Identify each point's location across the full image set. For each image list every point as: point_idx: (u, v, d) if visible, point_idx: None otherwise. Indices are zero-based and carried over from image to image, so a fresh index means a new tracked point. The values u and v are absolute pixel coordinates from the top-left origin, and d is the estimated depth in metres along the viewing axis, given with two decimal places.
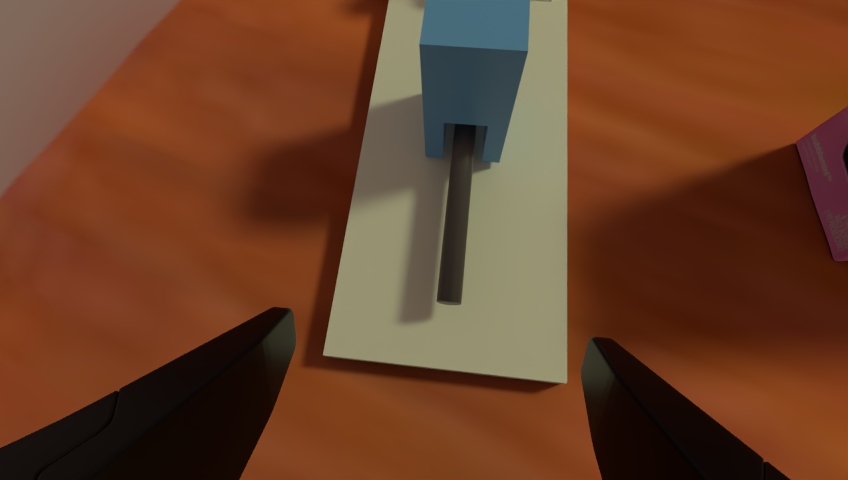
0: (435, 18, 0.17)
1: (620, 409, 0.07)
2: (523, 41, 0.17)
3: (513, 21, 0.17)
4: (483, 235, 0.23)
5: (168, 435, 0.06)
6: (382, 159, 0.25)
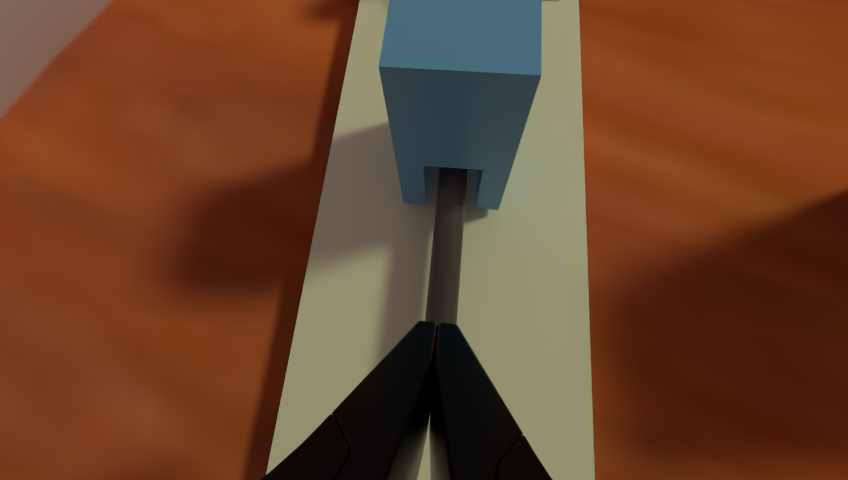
0: (402, 27, 0.12)
1: (434, 390, 0.07)
2: (533, 60, 0.11)
3: (518, 30, 0.11)
4: (479, 308, 0.18)
5: (398, 461, 0.06)
6: (348, 205, 0.20)
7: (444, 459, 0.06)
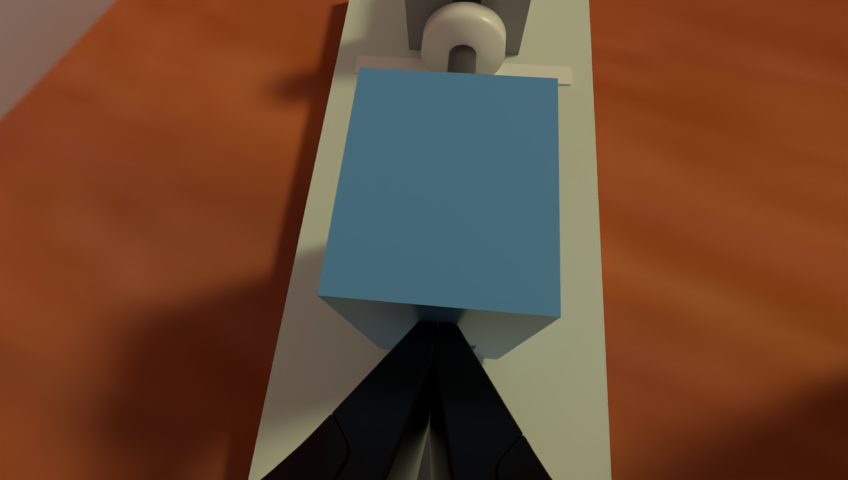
0: (355, 226, 0.08)
1: (435, 390, 0.07)
2: (549, 289, 0.07)
3: (526, 235, 0.08)
4: None
5: (398, 462, 0.06)
6: (309, 360, 0.16)
7: (444, 459, 0.06)
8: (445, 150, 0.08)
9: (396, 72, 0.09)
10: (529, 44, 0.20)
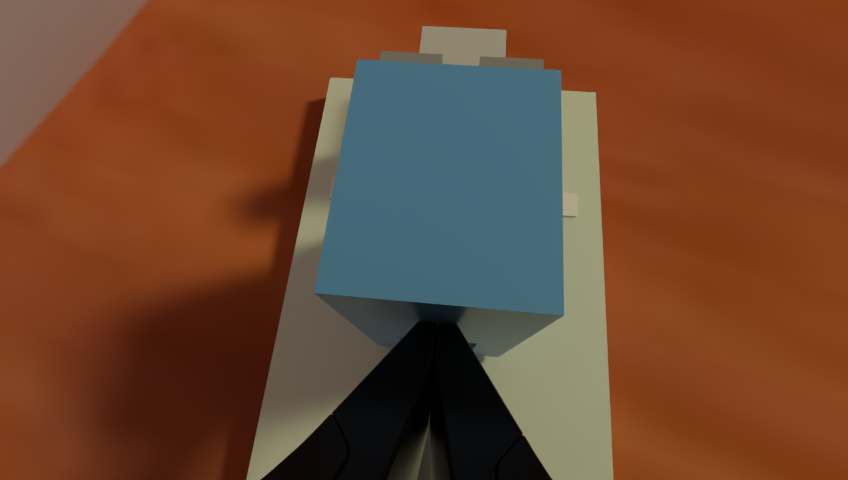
0: (353, 222, 0.08)
1: (434, 390, 0.07)
2: (552, 287, 0.07)
3: (527, 231, 0.08)
4: None
5: (398, 462, 0.06)
6: None
7: (444, 459, 0.06)
8: (445, 144, 0.08)
9: (395, 64, 0.09)
10: None
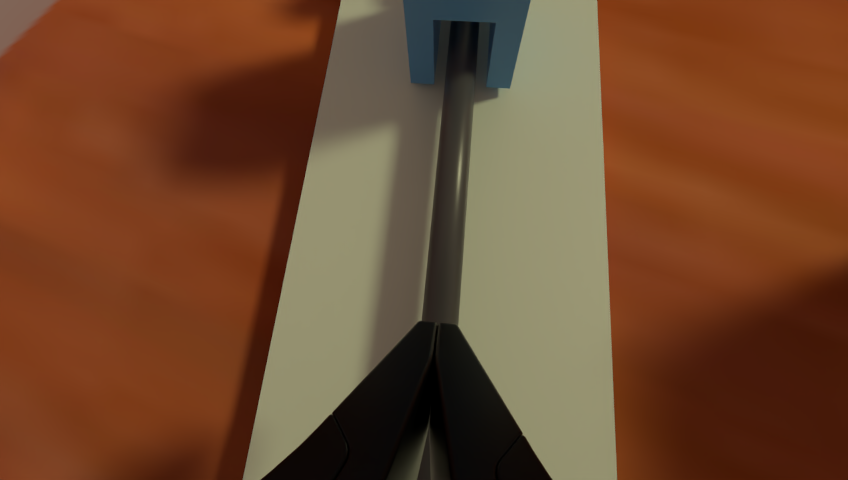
0: None
1: (434, 390, 0.07)
2: None
3: None
4: None
5: (398, 462, 0.06)
6: (325, 243, 0.17)
7: (444, 459, 0.06)
8: None
9: None
10: None
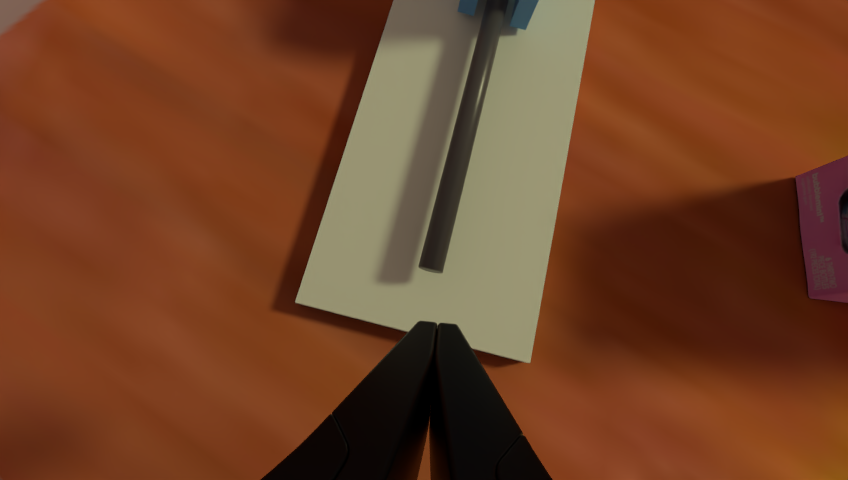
0: None
1: (435, 390, 0.07)
2: None
3: None
4: (474, 207, 0.23)
5: (398, 462, 0.06)
6: (382, 110, 0.24)
7: (444, 459, 0.06)
8: None
9: None
10: None
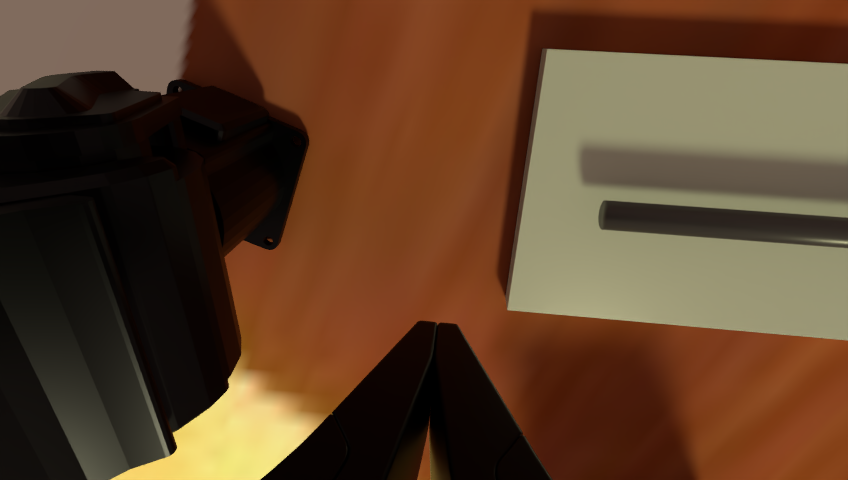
0: None
1: (435, 390, 0.07)
2: None
3: None
4: (681, 241, 0.19)
5: (398, 462, 0.06)
6: (844, 103, 0.16)
7: (444, 459, 0.06)
8: None
9: None
10: None
